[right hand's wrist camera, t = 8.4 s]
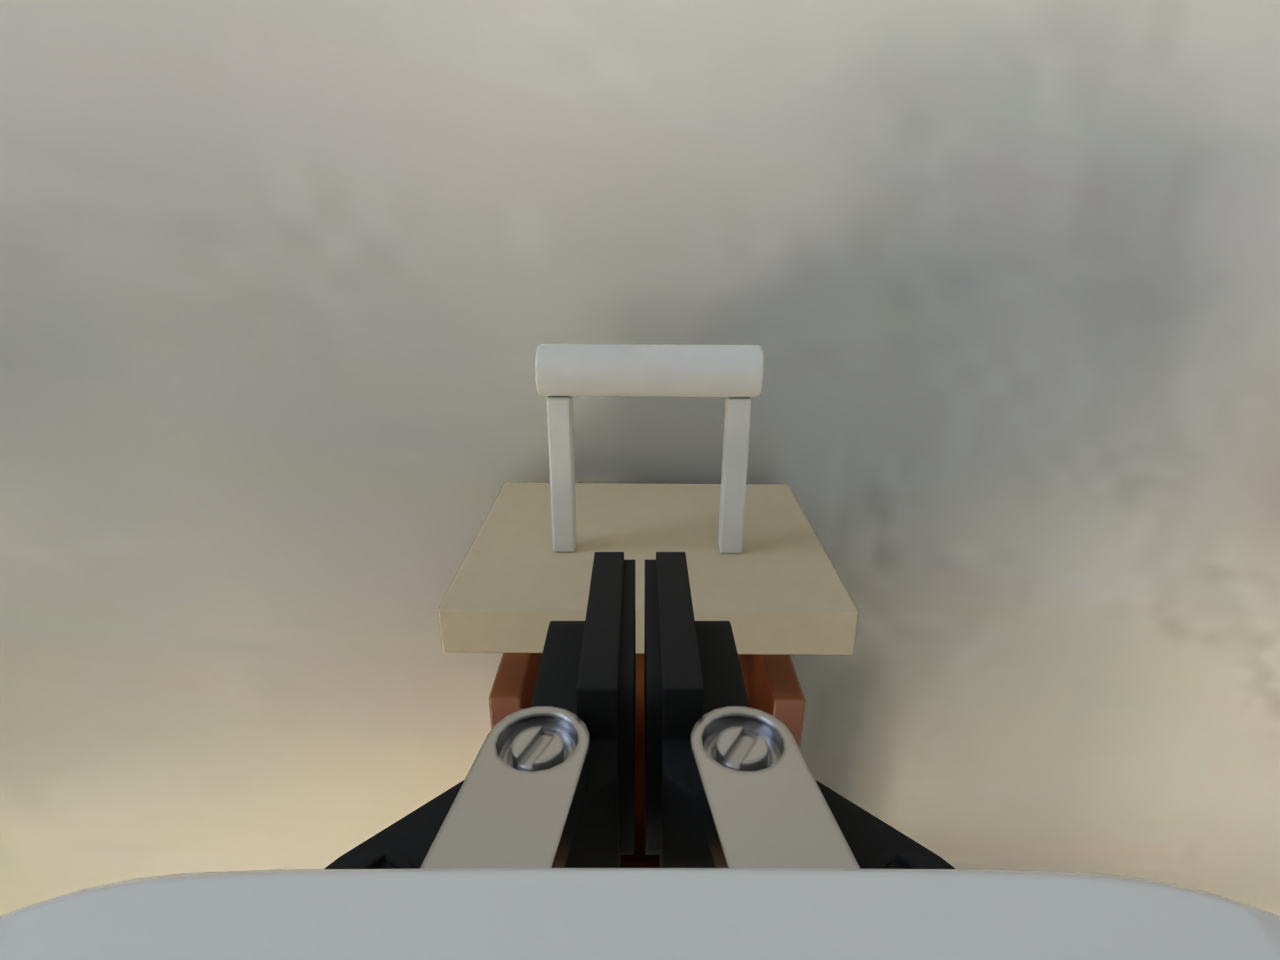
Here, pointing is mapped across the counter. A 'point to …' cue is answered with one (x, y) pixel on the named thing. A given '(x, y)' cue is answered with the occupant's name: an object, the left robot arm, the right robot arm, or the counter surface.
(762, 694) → the drawer
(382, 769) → the counter surface
